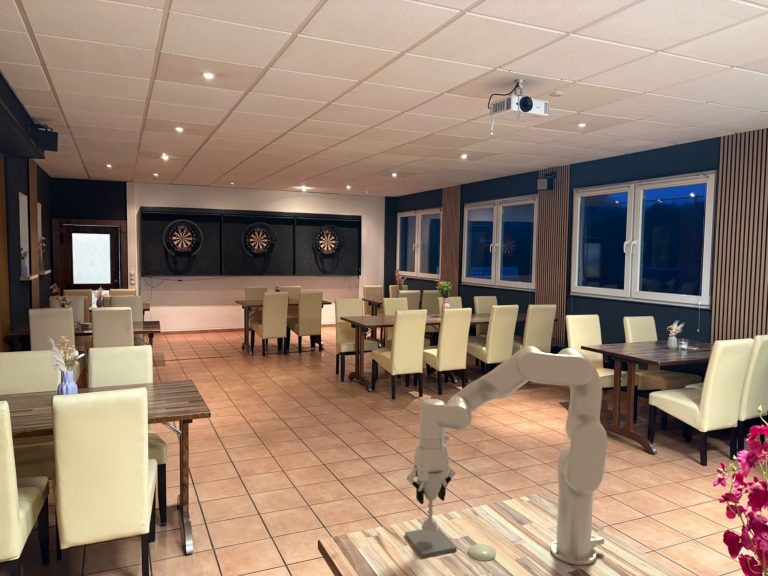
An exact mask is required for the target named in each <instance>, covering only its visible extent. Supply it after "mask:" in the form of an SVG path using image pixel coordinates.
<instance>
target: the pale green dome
mask: <svg viewBox="0 0 768 576" xmlns="http://www.w3.org/2000/svg"><path fill="white" fill-rule="evenodd" d="M467 552H468V555H469V557H471V558H472V559H474V560H477V561H481V562H482V561H483V562H487V561H492V560H494V559H496V556H497V551H496V549H495V548H494V547H492V546H491V545H488V544H484V543H478V544H477V543H476V544H472V545H471V546H469V547H468V550H467Z"/></svg>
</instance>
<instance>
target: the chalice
mask: <svg viewBox="0 0 768 576" xmlns="http://www.w3.org/2000/svg"><path fill="white" fill-rule="evenodd" d="M427 474H428V473H427ZM441 474H442V472H441V473H438V474H428V476H429V479H428V481H426V482H425V484H424V486H423V489H422V490H423V491H424V498H425V499H426V500H428V505H427V507H428V511H427V513H428V517H427V518H425V520H423V523H422V525H421V529H423V530H425V531H427V532H434V531H437V530H438V529H440V528H439V526H438V523H437V520H435V518H433V513H434V510H433V508H434V504H433V501H435V500H436V498H438V493H439V491H440V489H441V486H442V479H441Z"/></svg>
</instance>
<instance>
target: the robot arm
mask: <svg viewBox="0 0 768 576" xmlns="http://www.w3.org/2000/svg"><path fill="white" fill-rule="evenodd" d="M528 382H531V383H536V384H544V385H554V386H562V387H563V386H564V387H569V391H570V393H569V404H568V411H567V416H566V422H565V433H566V435H567V437H568V439H569V441H570V445H567V446H565V447H564V448H563V449H562V450H561V451H560V453H559V456H558V459H557V475H558V476H557V477H558V478H557V479H558V489H557V490H558V492H557V494H558V496H557V520H556V539H555V540H554V541H552V543H551V544H550V553H551V554H552V555H553V556H554V557H555V558H557V559H558V560H560V561H562V562H564V563H567V564H570V565H571V564H572V565H576V566H578V565H579V566H585V565H586V566H587V565H589V564H592V563H594V562H595V561H596V559H597V552H596V550H595V548H596V547H597V546H600V545H604V544H605V540H604V538H603V536H602V537H596V538H595V536H594V534H592V529H593V528H592V526H593V507H594V506H593V505H594V492H596V491H597V490H598V489H599V488H600V486H601V484H602V482H603V478H604V473H605V466H606V461H607V460H606V459H607V454H608V446H609V445H608V442H609V441H608V439H609V438H608V434H607V431H606V429H605V427H604V426H603V424H601V419H600V418H601V417H600V416H601V408H602V400H603V399H602V398H603V397H602V396H603V385H602V381H601V378H600V375H599V372H598V369H596V366H595V365H594V363H593V362H592V361H591V360H590V359H589V358H588V357H587V356H586V355H585V354H584V353H582V352H581V351H579V350H578V349H576V348H572V347H567V348H563V349H561V350H560V351H559V352H558V353H557V354H556V353H555V354H554V353H548V352H543V351H542V350H540V348H537V347H536V346H532V345H527V346H524V347H522V348H520V349H519V350H517V351H515V353H513V354H512V355H511V356H509V357H507V359H505V360H504V361H503V362H501V363H500V364H498V365H497V366H496V367H494V369H492V370H491V371H489V372H487V373H486V374H484V375H482V376H481V377H479V378H478V379H475V380H473V381H472V382H469V384H467V385H466V386H464V387H463V388H462V389H460V390H459V391H458V392H456V393H455V394H453V396H451V397H450V398H449V400H448V401H447V403H445V402H444V401H443V400H441V399H436V398H427V399H423V400H422V401H421V402H420V405H419V438H418V440H419V441H418V442H419V443H418V444H417V445H416V446H415V451H414V456H413V463H412V471H410V473H409V474H408V476H407V477H406V480H407V482H409V483H410V485H412V486H413V487H414V488H415V490H416V491H415V495H416V496H415V498H416V501H418V502H419V504H420V505H423V504H424V502H425V501H424V500H425V499H424V498H425V495H424V491H423V490H422V489H423V486H424V484H425V482H426V481H428V479H429V476H428V474H438V473H441V472H442V474H441V479H442V486H441V489H440V491H439V493H438V495H437V498H439V499H440V501H442V502H443V501H445V498H446V492H447V491H446V490H447V489H446V488H447V487H448V485H449V483H450V482H451V480H452V479H453V478H454V477H455V476H456V472H455V470H453V469H452V468H451V466H450V462H449V461H450V460H449V453H448V452H449V451H448V447H447V445H446V442H447V441H449V440H450V439H449V435H446V429H447V428H448V429H451V430H456V431H461V430H465V429H467V428H468V427H470V425H471V423H472V420H473V416H472V415H473V414H472V413H473V412H474V411H476V410H477V409H479V408H480V407H481V406H482V405H484V404H486V403H488V402H490V401H492V400H498V399H501V400H502V399H505V398H507V397H509V396H510V395H512V394H513V393H514V392H516V391H517V390H518V389H519V388H521V387H523V386H524V385H525V384H527V383H528ZM427 473H428V474H427ZM414 478H416V481H415V480H414Z"/></svg>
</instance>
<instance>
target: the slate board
mask: <svg viewBox="0 0 768 576" xmlns="http://www.w3.org/2000/svg"><path fill="white" fill-rule="evenodd" d="M404 536H405V538H406V539H407V540H408V541H409V543H410V544H411V546H412V547H413V548H414V549H415V550H416V552H417V553H418V555H420V556H421V558H426V557H427V558H428V557H430V556H431V557H432V556H436V555H437V556H438V555H441V554H446V553H451V552H452V553H453V552H456V551H457V546H456V545H455V544H454V543H453V542H452V540H451V539H449V537H447V536H446V534H445V533H444V531H442V529H440V528H439V529H438V530H437V531H434V532H427V531H425V530H423V529H422V528H421V529H417V530H416V529H415V530H409V531H404Z"/></svg>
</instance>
